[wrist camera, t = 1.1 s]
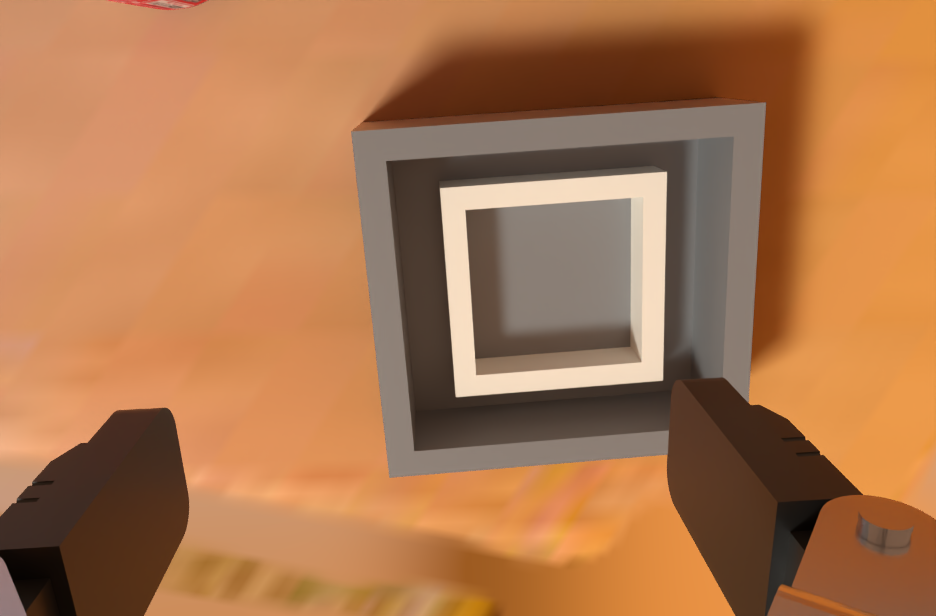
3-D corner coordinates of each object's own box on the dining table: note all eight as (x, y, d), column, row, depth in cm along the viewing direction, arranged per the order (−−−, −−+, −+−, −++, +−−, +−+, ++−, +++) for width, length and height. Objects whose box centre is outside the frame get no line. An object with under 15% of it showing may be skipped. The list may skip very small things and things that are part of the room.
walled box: (362, 122, 33) (351, 131, 28) (718, 97, 33) (766, 102, 29) (394, 425, 38) (389, 477, 33) (706, 400, 38) (745, 447, 33)
